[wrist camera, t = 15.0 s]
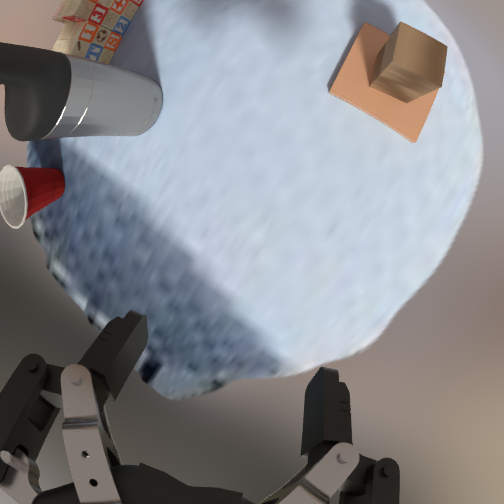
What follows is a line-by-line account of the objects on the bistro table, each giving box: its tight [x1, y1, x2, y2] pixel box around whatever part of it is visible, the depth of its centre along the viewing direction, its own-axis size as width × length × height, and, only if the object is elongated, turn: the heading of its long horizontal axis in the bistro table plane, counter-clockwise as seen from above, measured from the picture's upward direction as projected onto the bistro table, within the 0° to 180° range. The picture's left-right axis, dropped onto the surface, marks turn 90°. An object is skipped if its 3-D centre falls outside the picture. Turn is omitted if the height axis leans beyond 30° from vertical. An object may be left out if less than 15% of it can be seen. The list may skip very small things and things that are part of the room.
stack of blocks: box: [52, 0, 144, 64], centre depth 22 cm, size 21×6×12 cm, turn 155°
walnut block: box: [369, 22, 447, 103], centre depth 19 cm, size 5×5×10 cm
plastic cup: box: [0, 165, 65, 229], centre depth 34 cm, size 11×11×12 cm
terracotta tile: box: [329, 22, 445, 143], centre depth 24 cm, size 12×12×1 cm
